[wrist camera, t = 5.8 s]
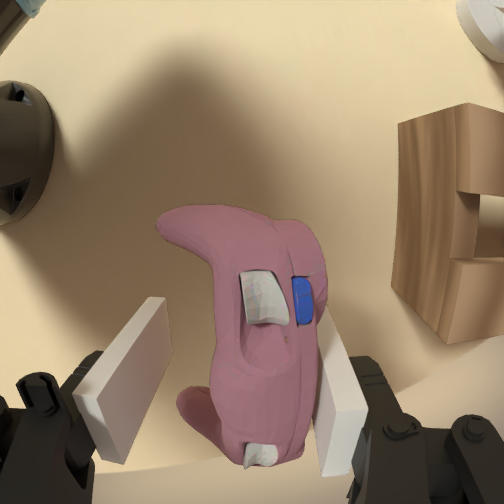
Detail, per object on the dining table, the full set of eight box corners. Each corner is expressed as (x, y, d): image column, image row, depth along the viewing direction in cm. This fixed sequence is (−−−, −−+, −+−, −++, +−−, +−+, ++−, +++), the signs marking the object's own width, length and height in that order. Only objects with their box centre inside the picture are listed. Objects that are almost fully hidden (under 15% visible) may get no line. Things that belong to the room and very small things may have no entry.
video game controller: (260, 387, 16) (326, 482, 10) (175, 402, 14) (211, 517, 8) (262, 195, 13) (376, 222, 7) (153, 200, 12) (173, 234, 6)
